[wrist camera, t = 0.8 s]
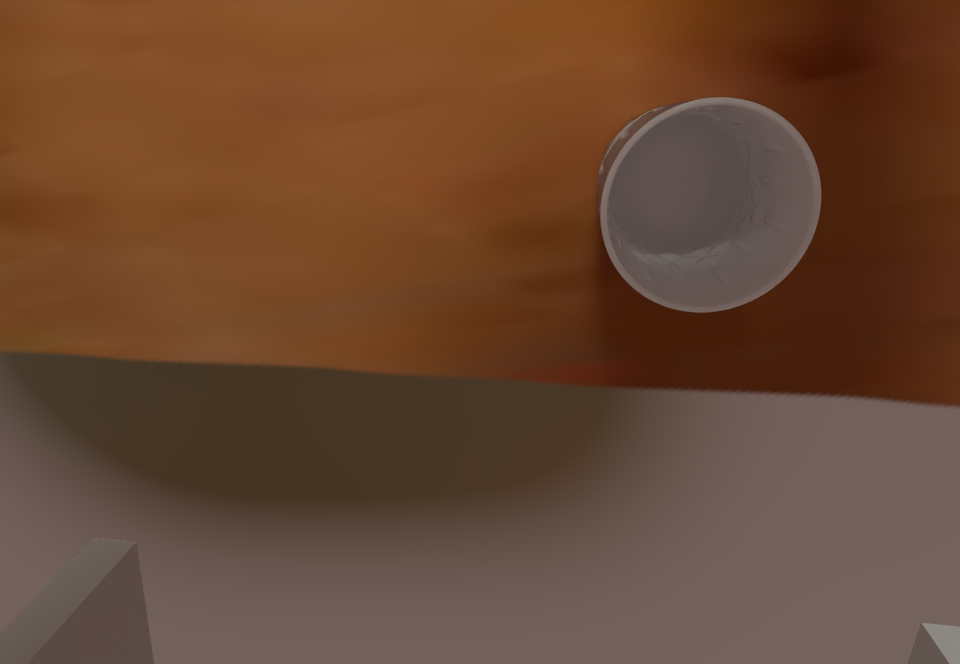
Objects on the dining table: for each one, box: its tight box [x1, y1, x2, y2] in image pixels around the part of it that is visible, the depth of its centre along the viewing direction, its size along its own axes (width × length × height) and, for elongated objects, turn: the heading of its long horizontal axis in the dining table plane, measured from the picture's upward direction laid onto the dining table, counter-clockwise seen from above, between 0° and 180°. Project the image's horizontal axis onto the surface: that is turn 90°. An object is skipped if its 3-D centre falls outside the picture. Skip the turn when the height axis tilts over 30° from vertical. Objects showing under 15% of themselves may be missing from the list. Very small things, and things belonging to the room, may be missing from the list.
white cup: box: [597, 97, 821, 313], centre depth 30 cm, size 8×8×10 cm
